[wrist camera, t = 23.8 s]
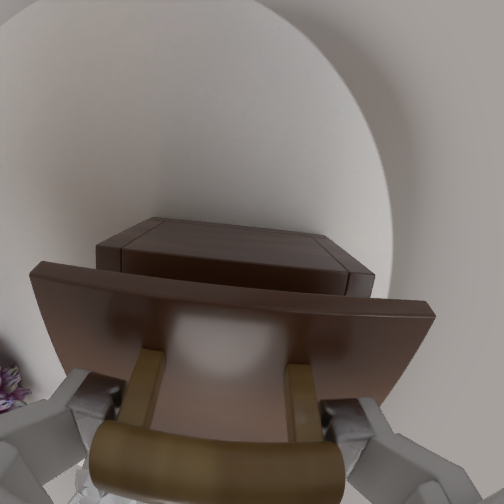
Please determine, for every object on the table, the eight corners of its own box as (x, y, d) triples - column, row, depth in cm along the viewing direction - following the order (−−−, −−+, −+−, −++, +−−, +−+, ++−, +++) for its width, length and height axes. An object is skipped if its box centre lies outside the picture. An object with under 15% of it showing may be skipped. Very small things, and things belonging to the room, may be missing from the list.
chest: (151, 216, 19) (94, 245, 11) (325, 235, 20) (376, 274, 12) (154, 391, 22) (128, 464, 14) (289, 404, 23) (304, 480, 15)
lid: (41, 259, 7) (-60, 381, 3) (426, 299, 8) (505, 436, 3) (127, 464, 14) (113, 528, 10) (304, 481, 15) (309, 545, 11)
